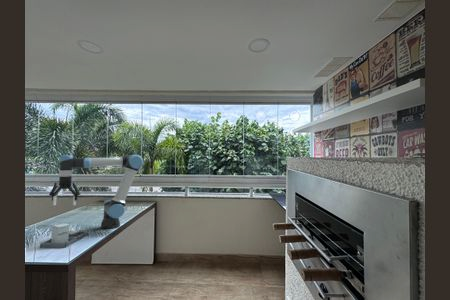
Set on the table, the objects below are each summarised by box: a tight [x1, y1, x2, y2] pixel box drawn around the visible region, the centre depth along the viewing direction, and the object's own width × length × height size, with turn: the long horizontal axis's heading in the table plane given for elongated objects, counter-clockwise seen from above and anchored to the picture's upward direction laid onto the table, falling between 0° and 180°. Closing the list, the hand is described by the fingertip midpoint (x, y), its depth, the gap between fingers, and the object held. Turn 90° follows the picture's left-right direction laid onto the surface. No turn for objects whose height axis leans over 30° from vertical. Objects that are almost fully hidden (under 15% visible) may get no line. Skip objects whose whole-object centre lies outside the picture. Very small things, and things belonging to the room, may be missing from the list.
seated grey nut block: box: [69, 230, 79, 237], centre depth 171 cm, size 6×6×4 cm
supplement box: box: [51, 223, 70, 243], centre depth 158 cm, size 7×7×13 cm
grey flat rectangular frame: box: [39, 230, 89, 249], centre depth 165 cm, size 27×16×2 cm, turn 3°
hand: (64, 205), depth 172 cm, fingers open, 13 cm apart
